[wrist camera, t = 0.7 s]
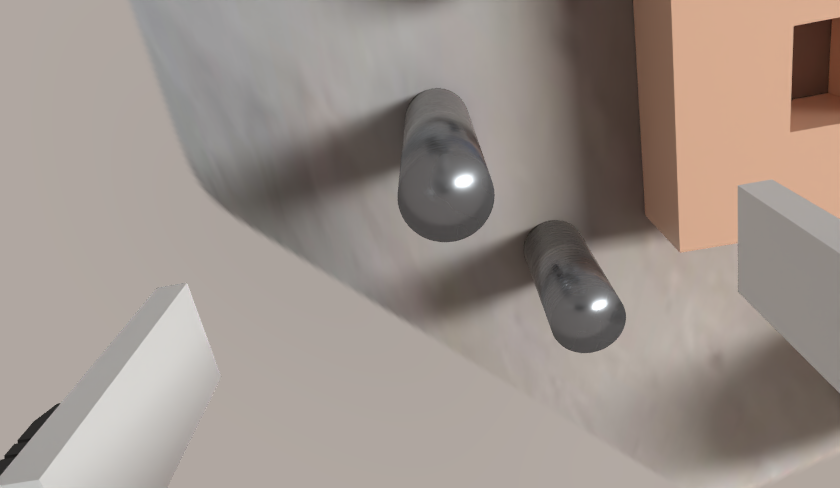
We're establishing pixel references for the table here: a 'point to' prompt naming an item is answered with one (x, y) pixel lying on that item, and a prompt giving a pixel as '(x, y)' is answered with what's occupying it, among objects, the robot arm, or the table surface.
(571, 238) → the medium pin
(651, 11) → the socket block
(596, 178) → the table surface
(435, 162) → the long pin
